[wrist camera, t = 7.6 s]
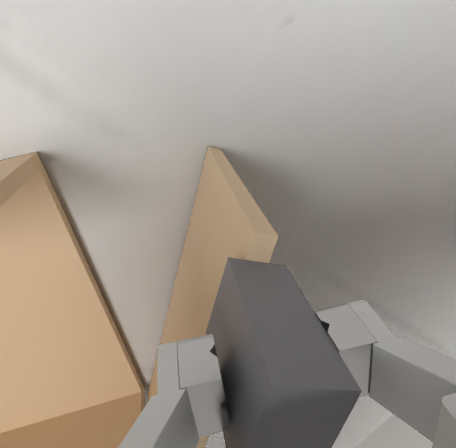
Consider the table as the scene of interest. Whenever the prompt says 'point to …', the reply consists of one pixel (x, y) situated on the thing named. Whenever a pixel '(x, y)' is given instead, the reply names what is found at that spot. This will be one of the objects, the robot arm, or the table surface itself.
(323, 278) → the table surface
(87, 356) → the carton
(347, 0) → the table surface
